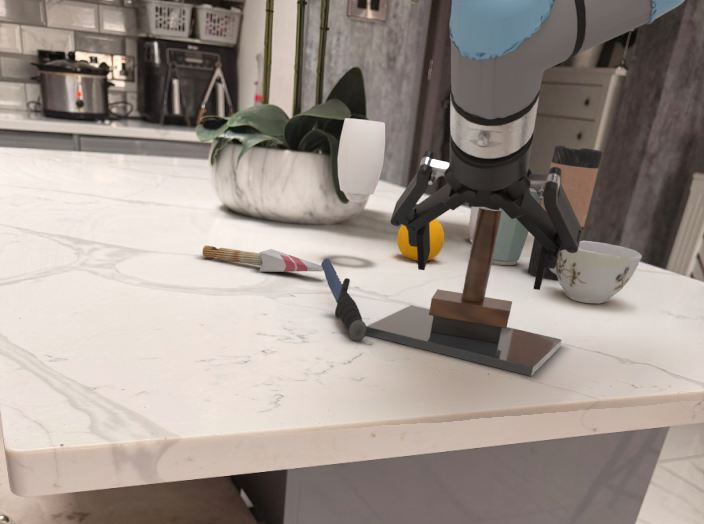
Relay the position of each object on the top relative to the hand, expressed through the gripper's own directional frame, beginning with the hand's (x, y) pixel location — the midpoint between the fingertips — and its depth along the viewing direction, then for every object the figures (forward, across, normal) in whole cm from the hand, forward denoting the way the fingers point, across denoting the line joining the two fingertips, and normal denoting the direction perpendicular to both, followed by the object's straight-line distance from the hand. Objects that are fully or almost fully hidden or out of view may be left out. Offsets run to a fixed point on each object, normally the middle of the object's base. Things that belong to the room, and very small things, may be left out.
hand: (480, 270), depth 89 cm
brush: (+3, 0, -7) cm, 7 cm away
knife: (+4, -16, -4) cm, 17 cm away
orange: (+36, -15, +25) cm, 46 cm away
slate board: (+4, 0, -7) cm, 8 cm away
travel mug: (+40, +7, +28) cm, 49 cm away
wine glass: (+28, -24, +16) cm, 41 cm away
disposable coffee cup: (+43, -2, +32) cm, 54 cm away
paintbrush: (+17, -33, +5) cm, 38 cm away
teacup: (+30, +12, +18) cm, 37 cm away
